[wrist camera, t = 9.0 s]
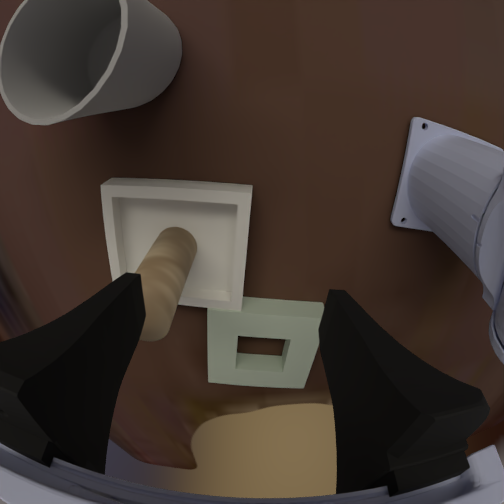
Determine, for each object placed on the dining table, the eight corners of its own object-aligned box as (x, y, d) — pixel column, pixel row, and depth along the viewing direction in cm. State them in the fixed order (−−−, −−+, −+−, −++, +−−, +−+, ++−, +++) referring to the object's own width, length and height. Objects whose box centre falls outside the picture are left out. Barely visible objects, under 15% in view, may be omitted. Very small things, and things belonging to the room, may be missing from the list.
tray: (252, 185, 20) (252, 193, 18) (242, 296, 24) (241, 311, 23) (111, 177, 20) (100, 185, 18) (123, 283, 24) (115, 296, 22)
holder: (322, 302, 24) (326, 318, 22) (301, 372, 29) (303, 388, 27) (210, 293, 24) (207, 309, 22) (210, 366, 28) (208, 382, 27)
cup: (180, 108, 17) (120, 118, 10) (55, 115, 17) (-33, 140, 9) (190, 5, 14) (141, -50, 6) (61, 26, 14) (-24, 14, 6)
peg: (202, 235, 21) (175, 309, 14) (190, 269, 22) (163, 348, 15) (162, 220, 20) (117, 287, 13) (152, 255, 22) (111, 328, 15)
